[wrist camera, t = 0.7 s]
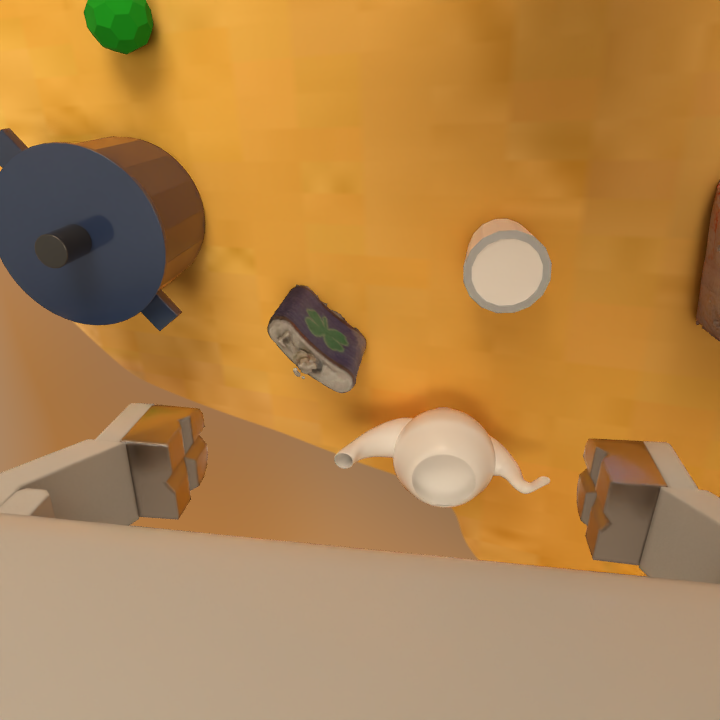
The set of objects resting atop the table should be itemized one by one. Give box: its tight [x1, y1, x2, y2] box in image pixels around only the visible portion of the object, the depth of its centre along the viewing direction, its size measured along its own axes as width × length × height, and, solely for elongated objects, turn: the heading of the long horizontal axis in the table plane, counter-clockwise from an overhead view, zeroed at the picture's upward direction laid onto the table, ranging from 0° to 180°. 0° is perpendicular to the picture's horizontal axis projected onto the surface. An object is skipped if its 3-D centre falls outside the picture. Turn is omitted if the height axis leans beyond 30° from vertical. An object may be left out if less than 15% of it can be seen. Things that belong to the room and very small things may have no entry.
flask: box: [268, 285, 366, 393], centre depth 54 cm, size 9×3×11 cm, turn 49°
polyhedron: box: [84, 0, 153, 54], centre depth 47 cm, size 5×5×5 cm
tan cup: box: [464, 219, 552, 313], centre depth 50 cm, size 7×7×7 cm
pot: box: [0, 128, 205, 331], centre depth 52 cm, size 14×19×10 cm
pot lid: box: [0, 142, 168, 325], centre depth 46 cm, size 15×15×5 cm
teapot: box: [334, 407, 550, 508], centre depth 58 cm, size 10×20×9 cm, turn 82°
